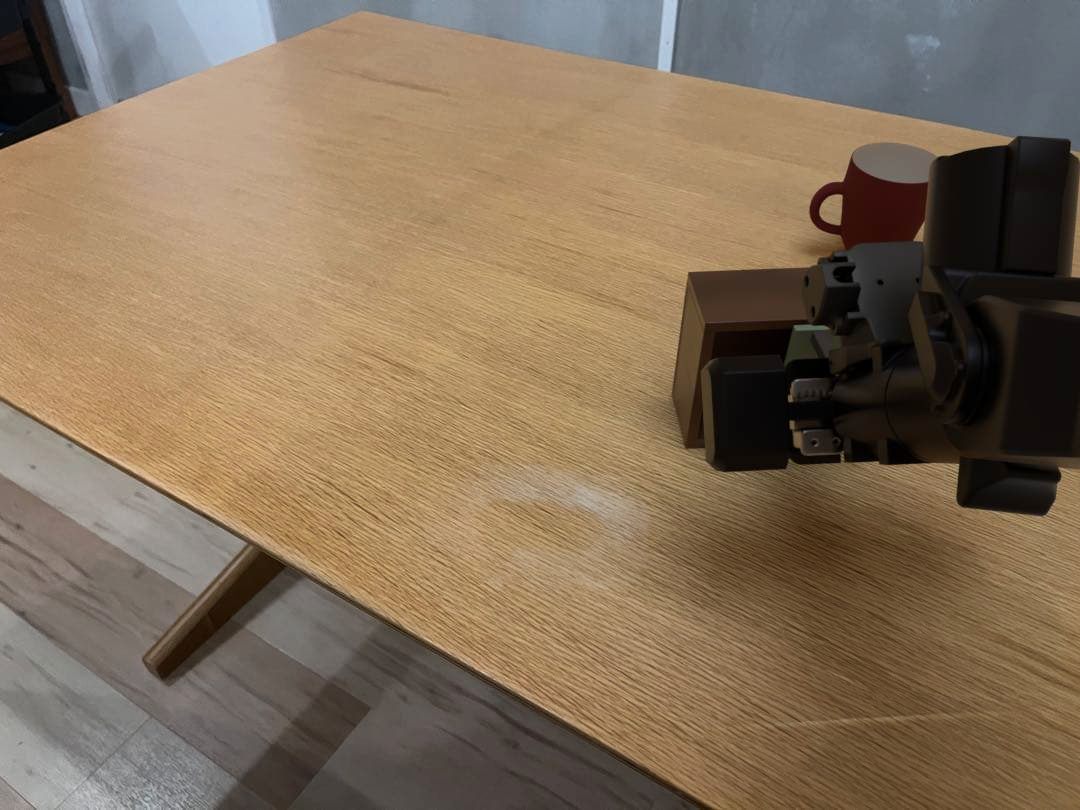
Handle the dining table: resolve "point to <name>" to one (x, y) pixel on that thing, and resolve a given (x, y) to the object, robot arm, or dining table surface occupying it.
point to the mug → (879, 195)
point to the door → (811, 343)
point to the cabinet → (731, 329)
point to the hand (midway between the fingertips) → (818, 412)
